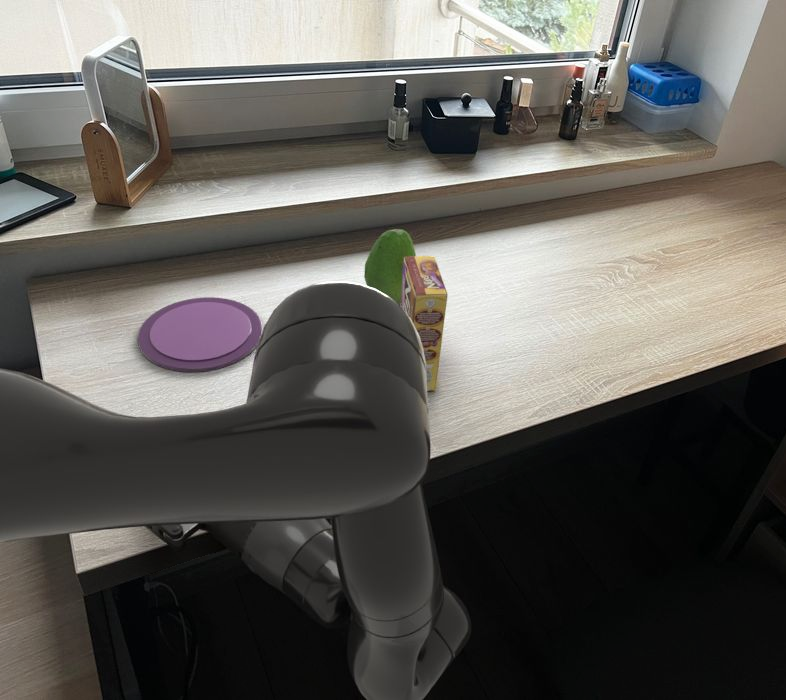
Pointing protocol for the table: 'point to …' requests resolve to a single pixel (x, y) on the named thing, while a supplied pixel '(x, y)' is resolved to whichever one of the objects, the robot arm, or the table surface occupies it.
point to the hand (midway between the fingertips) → (172, 447)
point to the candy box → (425, 308)
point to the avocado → (388, 263)
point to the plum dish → (200, 334)
